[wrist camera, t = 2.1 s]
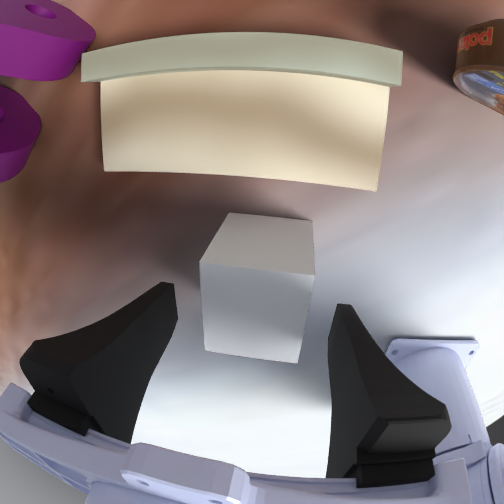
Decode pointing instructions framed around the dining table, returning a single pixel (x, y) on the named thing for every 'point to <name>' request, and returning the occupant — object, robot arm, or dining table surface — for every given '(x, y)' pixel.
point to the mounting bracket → (33, 67)
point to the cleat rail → (246, 106)
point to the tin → (482, 64)
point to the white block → (257, 287)
